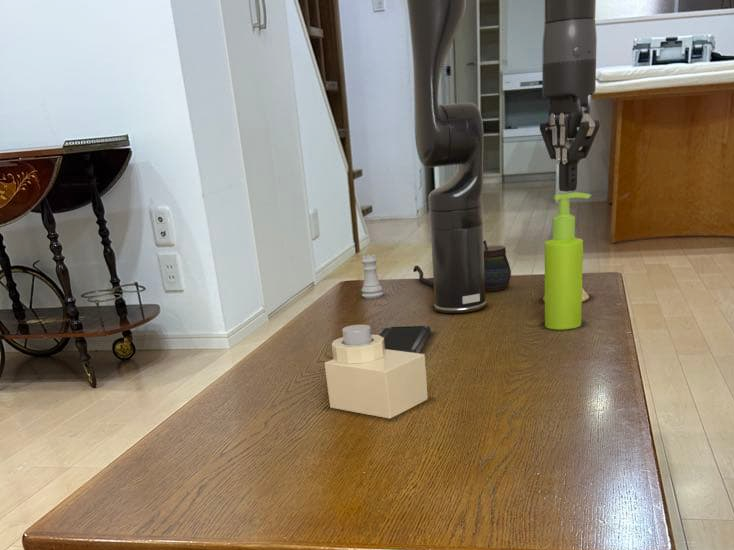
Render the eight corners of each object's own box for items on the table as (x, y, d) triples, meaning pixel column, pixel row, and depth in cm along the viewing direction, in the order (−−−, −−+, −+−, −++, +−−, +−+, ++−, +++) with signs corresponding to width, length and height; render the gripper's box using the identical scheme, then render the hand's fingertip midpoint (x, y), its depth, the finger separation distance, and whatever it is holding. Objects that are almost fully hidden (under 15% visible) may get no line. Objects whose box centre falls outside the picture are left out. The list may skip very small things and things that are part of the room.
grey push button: (338, 346, 105) (336, 330, 104) (356, 339, 107) (354, 323, 106) (359, 349, 103) (358, 332, 102) (377, 341, 105) (376, 325, 104)
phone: (431, 325, 136) (415, 350, 123) (431, 332, 137) (416, 357, 124) (384, 327, 138) (364, 351, 125) (385, 333, 138) (365, 359, 126)
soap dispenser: (587, 328, 131) (590, 193, 122) (543, 330, 133) (543, 196, 123) (588, 319, 136) (591, 189, 127) (545, 321, 138) (545, 192, 128)
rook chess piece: (383, 298, 165) (379, 256, 161) (361, 299, 165) (356, 258, 161) (384, 293, 169) (380, 252, 165) (362, 295, 169) (358, 254, 165)
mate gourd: (513, 285, 165) (512, 232, 161) (508, 293, 159) (507, 239, 154) (477, 286, 167) (476, 234, 163) (471, 294, 161) (469, 240, 156)
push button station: (325, 406, 108) (317, 346, 104) (364, 389, 113) (358, 330, 109) (390, 419, 101) (384, 355, 98) (428, 399, 107) (423, 338, 103)
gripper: (619, 53, 113) (614, 190, 121) (566, 60, 124) (565, 185, 132) (572, 57, 110) (570, 196, 118) (522, 64, 121) (524, 191, 129)
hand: (567, 190), depth 125 cm, fingers closed
